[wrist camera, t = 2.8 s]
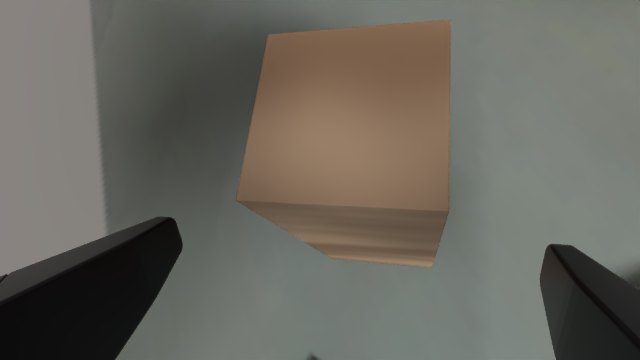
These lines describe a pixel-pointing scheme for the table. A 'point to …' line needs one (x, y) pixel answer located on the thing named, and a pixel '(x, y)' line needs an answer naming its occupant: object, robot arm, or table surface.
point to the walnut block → (354, 140)
